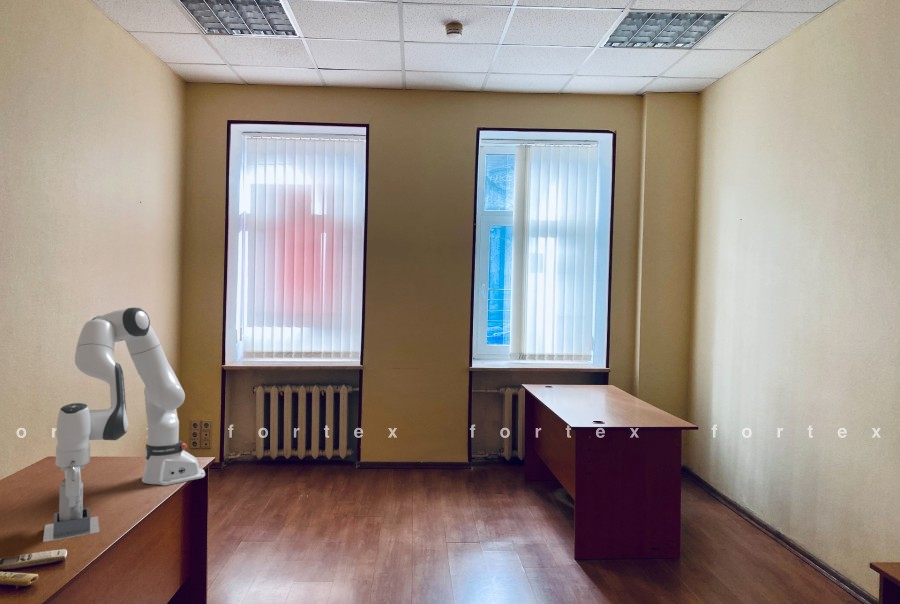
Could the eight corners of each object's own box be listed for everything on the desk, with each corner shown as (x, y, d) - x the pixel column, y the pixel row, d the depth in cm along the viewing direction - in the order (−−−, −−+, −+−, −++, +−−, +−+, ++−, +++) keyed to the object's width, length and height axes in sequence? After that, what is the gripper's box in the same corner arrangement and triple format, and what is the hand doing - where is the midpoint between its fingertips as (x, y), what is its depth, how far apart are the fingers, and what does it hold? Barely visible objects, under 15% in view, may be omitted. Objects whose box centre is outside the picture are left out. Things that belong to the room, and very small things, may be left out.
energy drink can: (71, 523, 179) (72, 475, 178) (86, 525, 177) (88, 477, 177) (53, 530, 173) (54, 481, 173) (69, 533, 171) (70, 483, 171)
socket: (97, 519, 185) (98, 504, 185) (99, 534, 173) (99, 518, 173) (44, 528, 177) (45, 512, 177) (43, 545, 165) (43, 527, 165)
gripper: (86, 464, 168) (85, 511, 168) (84, 448, 185) (83, 490, 185) (60, 467, 165) (59, 515, 165) (60, 451, 181) (59, 494, 182)
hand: (72, 502), depth 175 cm, fingers closed on energy drink can, 6 cm apart
